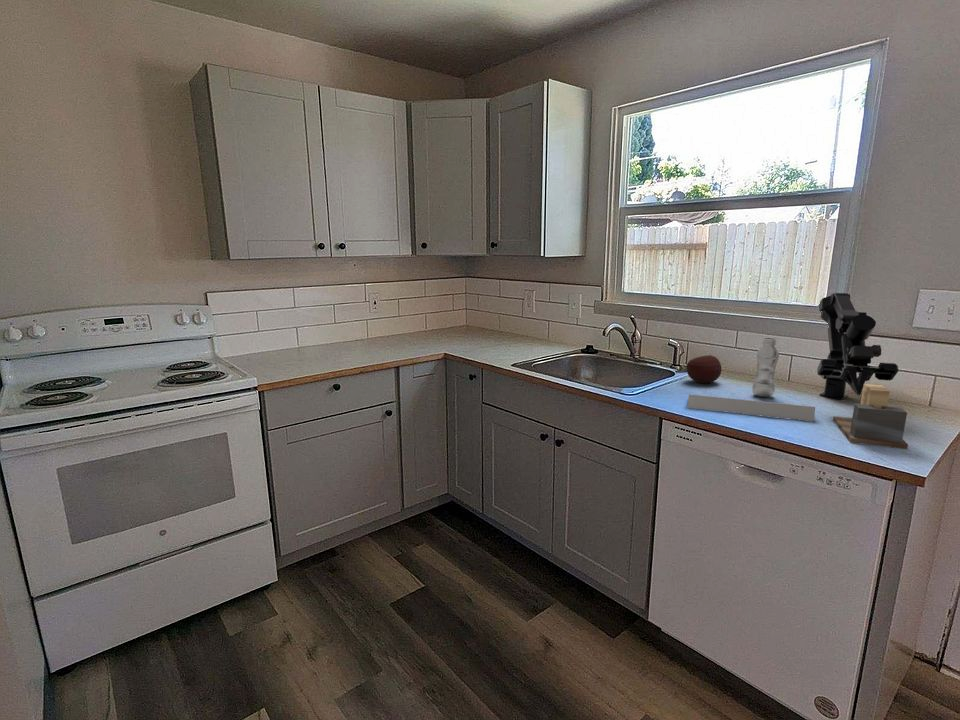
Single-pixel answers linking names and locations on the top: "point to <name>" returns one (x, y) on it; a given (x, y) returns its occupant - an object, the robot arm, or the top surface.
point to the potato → (704, 369)
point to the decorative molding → (752, 407)
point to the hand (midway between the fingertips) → (858, 394)
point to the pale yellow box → (875, 395)
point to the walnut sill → (874, 426)
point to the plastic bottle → (766, 368)
